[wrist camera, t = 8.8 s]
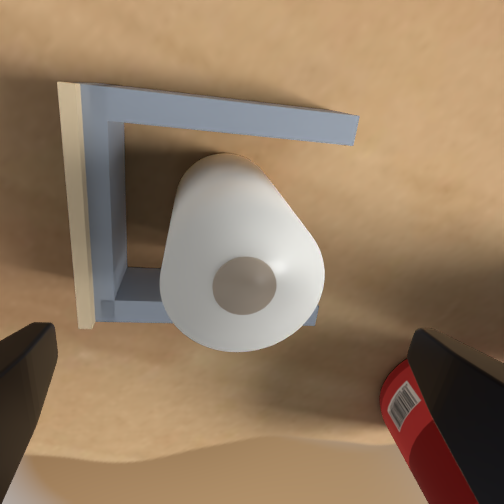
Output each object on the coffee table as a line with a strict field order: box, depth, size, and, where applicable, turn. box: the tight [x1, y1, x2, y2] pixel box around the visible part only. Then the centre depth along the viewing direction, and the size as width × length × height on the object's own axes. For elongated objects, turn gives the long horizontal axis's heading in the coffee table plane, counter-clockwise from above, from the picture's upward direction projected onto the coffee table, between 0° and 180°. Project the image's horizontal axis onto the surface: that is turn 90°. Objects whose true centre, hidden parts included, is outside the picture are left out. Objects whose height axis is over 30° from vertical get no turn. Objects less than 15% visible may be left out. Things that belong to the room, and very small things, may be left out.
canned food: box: [380, 359, 479, 504], centre depth 23 cm, size 8×8×11 cm
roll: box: [160, 153, 325, 352], centre depth 16 cm, size 5×5×9 cm
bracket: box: [57, 82, 359, 329], centre depth 18 cm, size 12×10×4 cm
